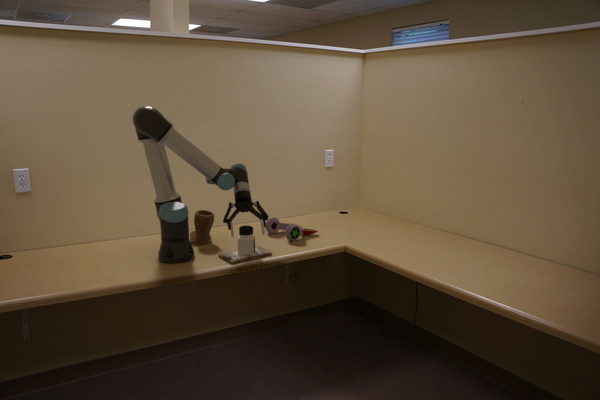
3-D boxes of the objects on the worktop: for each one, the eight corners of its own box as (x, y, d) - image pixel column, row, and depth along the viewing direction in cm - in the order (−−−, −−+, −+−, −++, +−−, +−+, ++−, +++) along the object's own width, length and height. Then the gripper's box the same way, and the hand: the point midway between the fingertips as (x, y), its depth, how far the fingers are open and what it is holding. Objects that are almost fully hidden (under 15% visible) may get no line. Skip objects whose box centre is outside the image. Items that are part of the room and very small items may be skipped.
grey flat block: (232, 264, 186) (231, 259, 186) (218, 256, 195) (218, 252, 195) (271, 254, 198) (271, 250, 198) (257, 247, 207) (257, 243, 207)
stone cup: (216, 244, 213) (215, 213, 210) (190, 246, 210) (188, 215, 207) (213, 235, 227) (212, 206, 224) (189, 237, 224) (188, 207, 221)
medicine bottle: (254, 255, 194) (253, 228, 191) (237, 255, 193) (237, 228, 191) (255, 249, 201) (254, 224, 198) (239, 250, 200) (238, 224, 198)
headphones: (263, 219, 228) (293, 209, 240) (265, 237, 231) (295, 226, 243) (287, 227, 213) (318, 216, 226) (289, 246, 216) (319, 234, 228)
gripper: (267, 197, 213) (274, 236, 202) (214, 199, 206) (219, 240, 195) (270, 188, 206) (277, 228, 196) (215, 190, 200) (220, 232, 189)
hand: (248, 234), depth 195 cm, fingers open, 13 cm apart
